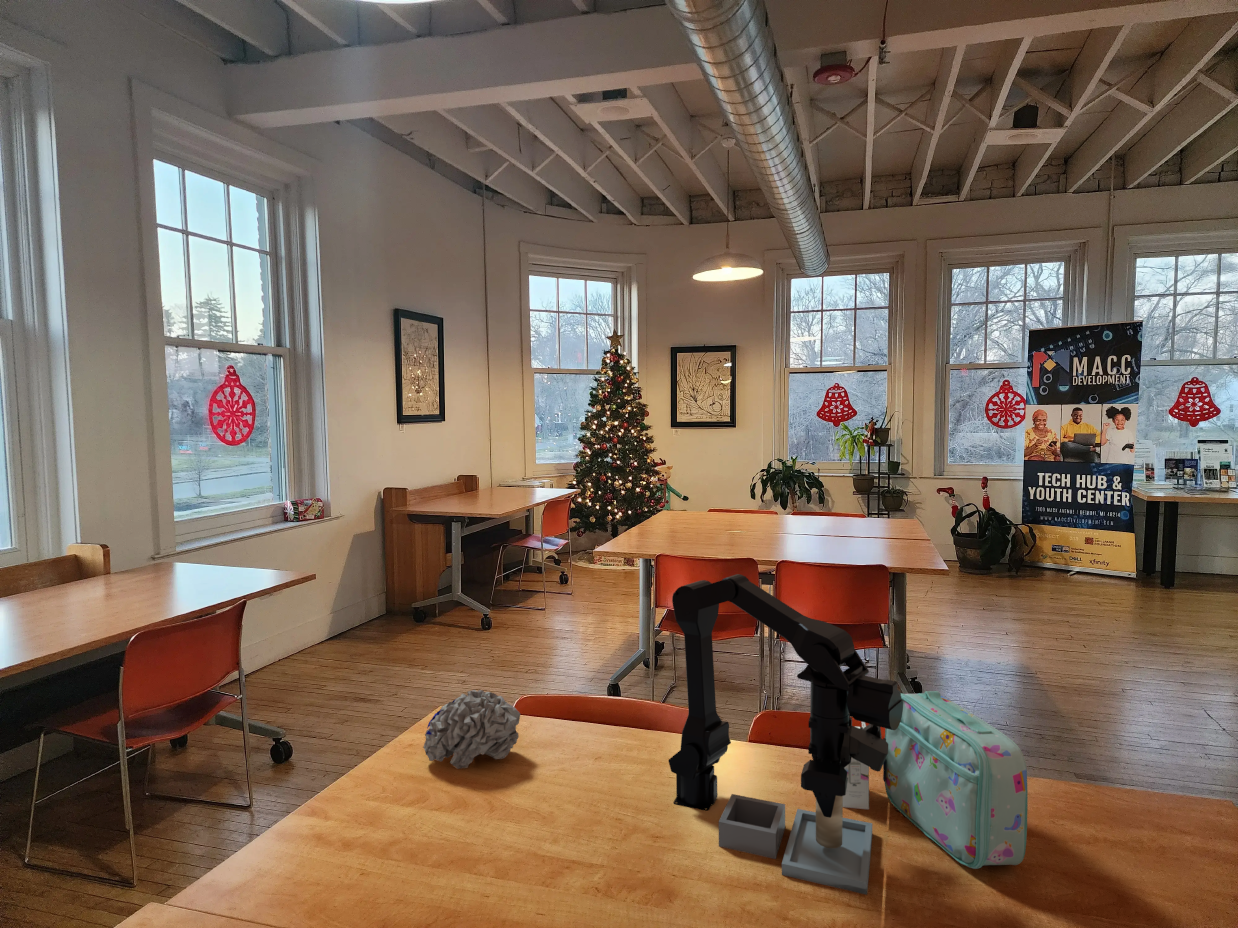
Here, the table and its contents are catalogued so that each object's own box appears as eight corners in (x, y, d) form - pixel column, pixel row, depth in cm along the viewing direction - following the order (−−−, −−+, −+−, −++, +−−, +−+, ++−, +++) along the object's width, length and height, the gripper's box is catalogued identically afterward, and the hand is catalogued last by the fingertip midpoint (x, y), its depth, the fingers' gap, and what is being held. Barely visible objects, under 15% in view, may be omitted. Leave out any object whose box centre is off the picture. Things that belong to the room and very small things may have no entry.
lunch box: (871, 793, 127) (872, 678, 126) (921, 786, 129) (922, 673, 128) (974, 887, 101) (976, 743, 100) (1035, 877, 103) (1037, 736, 102)
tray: (781, 877, 104) (781, 863, 104) (797, 821, 118) (797, 808, 118) (867, 897, 99) (867, 882, 99) (872, 836, 114) (872, 823, 114)
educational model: (452, 771, 149) (419, 709, 149) (535, 727, 150) (502, 666, 149) (438, 804, 135) (402, 736, 135) (529, 755, 136) (493, 687, 135)
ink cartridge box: (834, 785, 130) (835, 708, 129) (862, 787, 129) (863, 709, 128) (840, 809, 122) (840, 727, 121) (869, 812, 121) (870, 729, 120)
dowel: (814, 844, 108) (814, 781, 107) (817, 830, 111) (817, 769, 111) (841, 850, 106) (841, 786, 105) (843, 836, 110) (843, 774, 109)
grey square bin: (718, 848, 111) (718, 821, 111) (731, 819, 119) (731, 793, 119) (775, 861, 107) (775, 833, 107) (785, 830, 116) (785, 804, 115)
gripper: (883, 745, 96) (882, 855, 97) (886, 696, 113) (886, 790, 114) (800, 732, 100) (800, 837, 101) (816, 687, 117) (815, 777, 118)
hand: (829, 809), depth 108 cm, fingers closed on dowel, 4 cm apart
